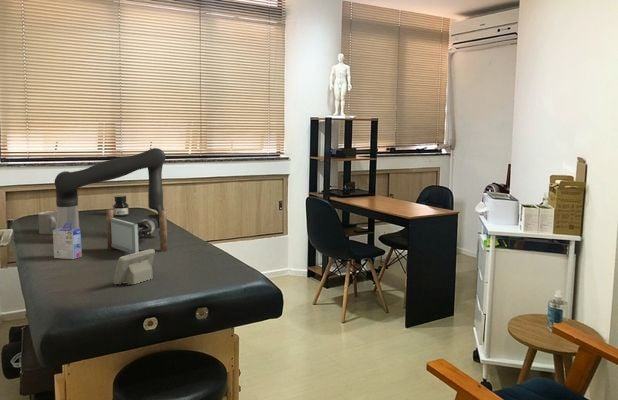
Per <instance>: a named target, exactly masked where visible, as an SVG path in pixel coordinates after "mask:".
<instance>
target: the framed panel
mask: <svg viewBox="0 0 618 400" xmlns="http://www.w3.org/2000/svg"><path fill="white" fill-rule="evenodd" d="M110 222H111V233H112V243H111V246H112V247H113V248H115V250H120V251H122V252H125V253H129V254H134V253H137V252H140V250H139V246H140V243H139V238H138V224H136V223H134V222H130V221H126V220H123V219H118V218H115V217H113V218H111V219H110Z"/></svg>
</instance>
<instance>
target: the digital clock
mask: <svg viewBox="0 0 618 400" xmlns="http://www.w3.org/2000/svg"><path fill="white" fill-rule="evenodd" d="M155 251H156V250H155V249H153V248H149V249H146V250H141V251H139V252H137V253H134V254H131V253H129V254H126V255H124V256H123V255H122V256H120V257H119V258H118V261H117V264H116V267H115V273H114V278H113V284H114V285H116V284H119V285H121V284H120V283H123V282H127V283H131V284H136V283H140V282H143V281H146V280H148V281H150V279H151V280H153V279H154V277H153V263H154V258H155V255H156V252H155ZM146 282H147V281H146ZM143 283H144V282H143ZM123 284H124V283H123ZM140 284H141V283H140Z"/></svg>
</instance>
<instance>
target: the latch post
mask: <svg viewBox="0 0 618 400" xmlns="http://www.w3.org/2000/svg"><path fill="white" fill-rule="evenodd" d="M166 218H167V210H165V209H164V210H161V211H159V221H160V228H159V231H158V236H159V243H160V252H167V251H168V233H167V232H168V230H167V227H168V225H167V224H168V220H167V221H166Z"/></svg>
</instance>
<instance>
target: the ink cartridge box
mask: <svg viewBox="0 0 618 400" xmlns="http://www.w3.org/2000/svg"><path fill="white" fill-rule="evenodd" d="M66 225H70V227H68V226H66ZM71 227H72V223H65V224H64V227H63V228H58V229H55V230H53V234H52V236H53V237H52V239H53V240H52V241H53V257H54V258H55V259H66V260H75V259H78V258H82V257H83V252H82V251H83V250H82V235H81V233H82V231H81V228H79V229H74V228H71Z"/></svg>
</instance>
